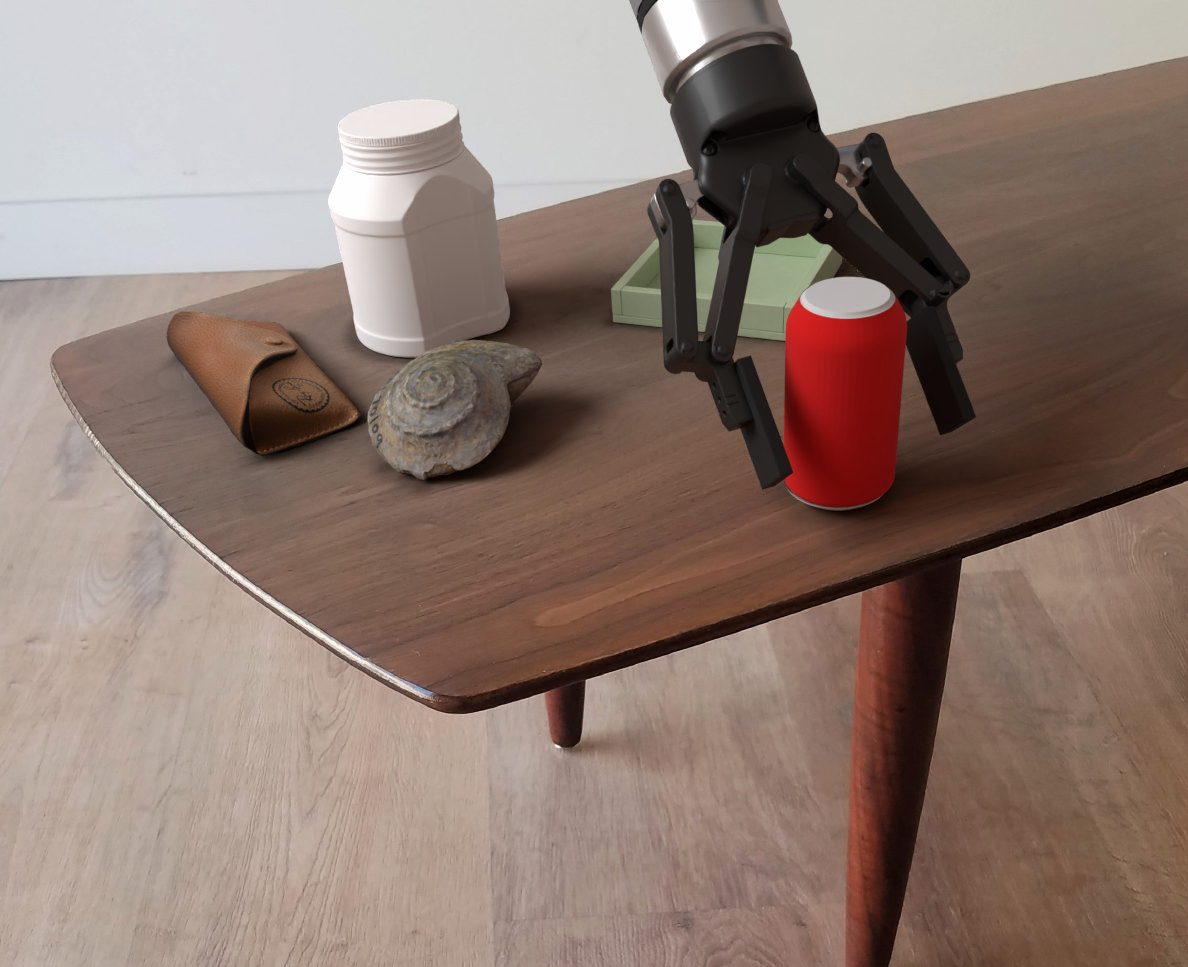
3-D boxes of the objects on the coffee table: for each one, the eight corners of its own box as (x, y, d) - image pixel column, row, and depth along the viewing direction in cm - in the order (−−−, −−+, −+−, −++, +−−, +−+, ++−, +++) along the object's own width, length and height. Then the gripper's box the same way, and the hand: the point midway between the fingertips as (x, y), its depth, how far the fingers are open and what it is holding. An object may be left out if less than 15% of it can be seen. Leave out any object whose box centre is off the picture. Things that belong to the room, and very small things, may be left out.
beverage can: (767, 473, 72) (769, 281, 65) (867, 453, 73) (880, 261, 65) (805, 530, 67) (811, 329, 60) (911, 508, 68) (930, 308, 61)
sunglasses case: (370, 413, 80) (302, 349, 76) (296, 490, 80) (223, 431, 75) (278, 321, 93) (214, 261, 88) (214, 387, 93) (147, 331, 88)
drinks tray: (842, 263, 94) (843, 230, 93) (794, 342, 85) (795, 307, 83) (675, 249, 99) (674, 217, 97) (612, 322, 89) (610, 289, 88)
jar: (467, 280, 97) (437, 84, 88) (532, 319, 91) (507, 111, 82) (336, 326, 92) (290, 123, 83) (395, 370, 86) (352, 155, 77)
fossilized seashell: (339, 407, 79) (361, 310, 75) (478, 404, 85) (506, 314, 81) (411, 505, 73) (440, 405, 69) (555, 494, 79) (589, 401, 75)
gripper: (880, 79, 74) (1011, 419, 72) (524, 155, 68) (655, 528, 66) (941, 0, 67) (1088, 376, 65) (548, 78, 61) (696, 494, 59)
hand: (869, 453), depth 65 cm, fingers open, 10 cm apart
